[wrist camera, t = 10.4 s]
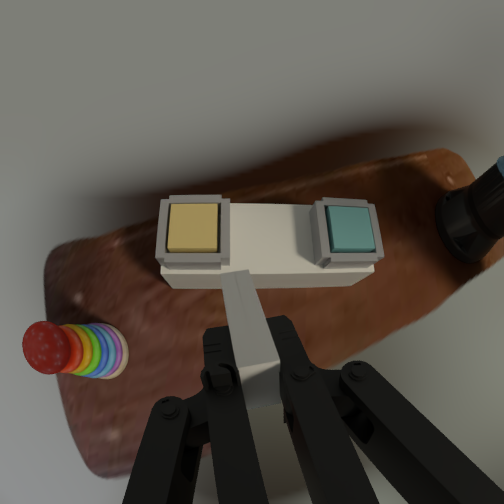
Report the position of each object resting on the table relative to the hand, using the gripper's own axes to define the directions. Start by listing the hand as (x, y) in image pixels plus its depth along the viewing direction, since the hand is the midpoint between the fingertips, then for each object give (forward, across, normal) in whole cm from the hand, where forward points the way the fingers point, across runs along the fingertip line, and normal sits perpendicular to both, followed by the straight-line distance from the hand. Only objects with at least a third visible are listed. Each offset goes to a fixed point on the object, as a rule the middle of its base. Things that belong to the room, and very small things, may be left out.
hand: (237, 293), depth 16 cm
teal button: (+18, +15, -6) cm, 24 cm away
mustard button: (+19, -3, -4) cm, 20 cm away
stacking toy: (+17, -19, -18) cm, 31 cm away
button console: (+24, +6, -11) cm, 27 cm away
